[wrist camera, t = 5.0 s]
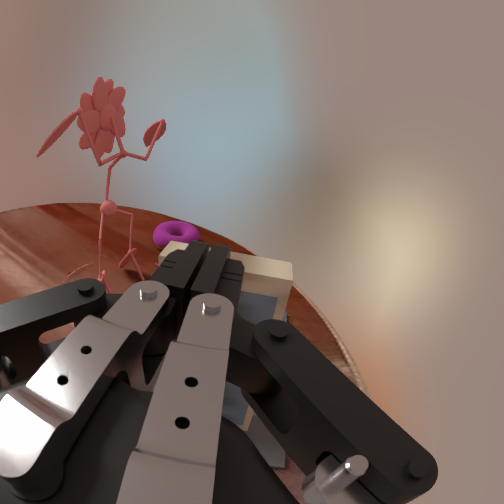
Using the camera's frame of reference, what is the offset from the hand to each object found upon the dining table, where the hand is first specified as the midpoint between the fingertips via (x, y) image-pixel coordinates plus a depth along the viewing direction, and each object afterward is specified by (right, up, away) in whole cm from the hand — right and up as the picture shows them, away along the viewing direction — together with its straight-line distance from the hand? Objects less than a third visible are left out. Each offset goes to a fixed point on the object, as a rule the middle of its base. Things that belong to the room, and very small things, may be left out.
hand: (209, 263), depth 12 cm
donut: (-16, +2, +54) cm, 56 cm away
